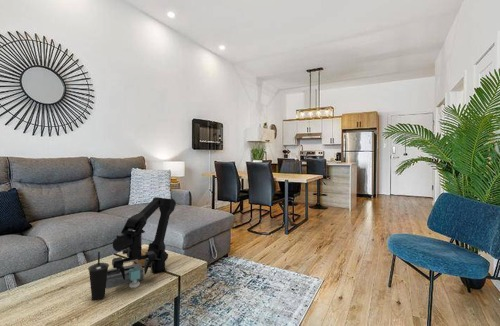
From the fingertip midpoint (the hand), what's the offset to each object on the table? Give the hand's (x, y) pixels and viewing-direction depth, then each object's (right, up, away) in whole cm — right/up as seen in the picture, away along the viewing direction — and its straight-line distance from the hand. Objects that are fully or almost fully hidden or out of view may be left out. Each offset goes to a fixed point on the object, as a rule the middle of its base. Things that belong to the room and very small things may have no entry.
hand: (134, 276), depth 120 cm
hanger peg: (0, -4, 0) cm, 4 cm away
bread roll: (-7, -4, +25) cm, 26 cm away
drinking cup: (-11, -4, -11) cm, 16 cm away
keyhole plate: (-8, -4, +5) cm, 10 cm away
